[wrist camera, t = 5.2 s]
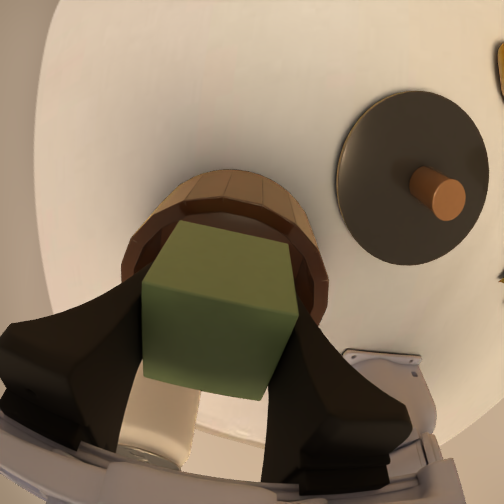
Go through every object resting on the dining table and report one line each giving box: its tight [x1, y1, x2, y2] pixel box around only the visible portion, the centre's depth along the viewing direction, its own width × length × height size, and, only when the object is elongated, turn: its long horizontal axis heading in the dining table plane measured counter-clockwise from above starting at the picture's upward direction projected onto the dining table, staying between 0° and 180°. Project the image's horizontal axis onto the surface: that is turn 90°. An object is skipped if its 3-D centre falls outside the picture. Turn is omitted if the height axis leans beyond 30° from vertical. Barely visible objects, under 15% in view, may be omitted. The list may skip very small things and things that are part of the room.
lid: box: [336, 91, 489, 265], centre depth 16 cm, size 13×13×4 cm
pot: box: [121, 169, 329, 326], centre depth 19 cm, size 12×12×6 cm
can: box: [116, 359, 201, 471], centre depth 21 cm, size 6×6×12 cm
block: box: [141, 220, 299, 401], centre depth 11 cm, size 4×4×4 cm
